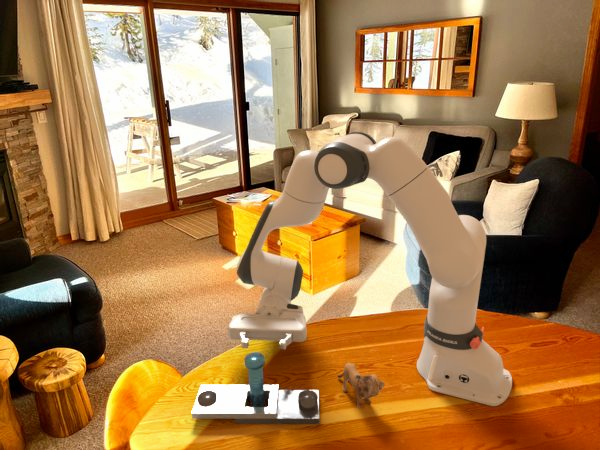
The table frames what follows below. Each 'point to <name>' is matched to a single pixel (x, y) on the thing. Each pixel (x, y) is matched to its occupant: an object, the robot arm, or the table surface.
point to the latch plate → (279, 411)
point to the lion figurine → (361, 383)
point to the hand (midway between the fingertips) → (263, 346)
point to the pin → (256, 378)
